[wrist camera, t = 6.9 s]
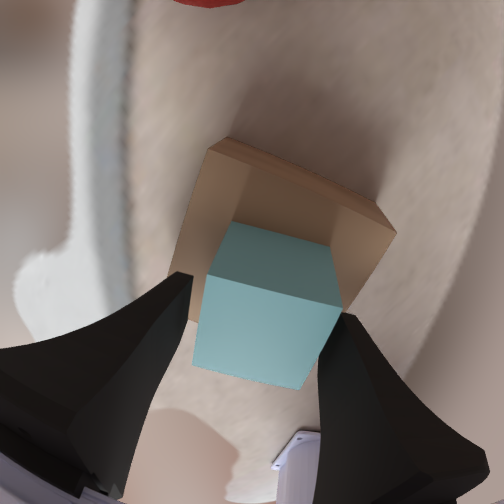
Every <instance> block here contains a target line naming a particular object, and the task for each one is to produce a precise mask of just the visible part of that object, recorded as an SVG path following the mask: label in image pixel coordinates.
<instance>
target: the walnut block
mask: <svg viewBox="0 0 504 504" xmlns="http://www.w3.org/2000/svg"><path fill="white" fill-rule="evenodd" d="M231 221H234V222H238V223H241V224H245V225H249V226H253V227H257V228H261V229H265V230H269V231H272V232H276V233H280V234H284V235H288V236H291V237H295V238H299V239H303V240H306V241H310V242H314V243H317V244H321V245H325V246H328V247H330V250H331V254H332V259H333V263H334V268H335V272H336V277H337V281H338V286H339V291H340V296H341V300H342V305H343V309H342V311H341V312H344V313H345V312H346V310H347V309H348V308H349V306H350V305H351V303H352V302H353V300H354V299H355V297H356V296H357V295H358V293H359V292H360V290H361V289H362V287H363V286H364V284H365V283H366V281H367V280H368V278H369V277H370V275H371V274H372V272H373V271H374V269H375V267H376V266H377V264H378V263H379V261H380V260H381V258H382V256H383V255H384V253H385V252H386V250H387V248H388V247H389V245H390V244H391V242H392V240H393V239H394V237H395V235H396V234H397V232H396V230H395V229H394V228H393V226H392V225H391V223H390V222H389V221H388V219H387V218H386V216H385V215H384V214H383V212H382V211H381V210H380V208H379V207H378V206H377V204H376V203H375V202H373V201H371V200H369V199H367V198H365V197H363V196H361V195H359V194H357V193H355V192H353V191H351V190H349V189H347V188H345V187H343V186H340V185H338V184H336V183H334V182H332V181H330V180H328V179H326V178H324V177H321V176H319V175H317V174H315V173H313V172H310V171H308V170H306V169H304V168H302V167H299V166H297V165H295V164H292V163H290V162H288V161H285V160H283V159H281V158H278V157H276V156H274V155H271V154H269V153H266V152H264V151H262V150H259V149H257V148H254V147H252V146H249V145H247V144H244V143H241V142H239V141H236V140H234V139H231V138H228V137H226V138H224V139H223V140H221V141H219V142H218V143H216V144H215V145H213V146H211V147H210V148H208V150H207V153H206V156H205V158H204V161H203V164H202V167H201V170H200V173H199V176H198V178H197V181H196V184H195V187H194V190H193V193H192V196H191V199H190V203H189V206H188V209H187V212H186V215H185V218H184V221H183V225H182V228H181V231H180V234H179V238H178V241H177V244H176V248H175V251H174V255H173V258H172V261H171V265H170V268H169V272H168V276H167V277H169V276H170V275H171V274H173V273H174V272H176V271H179V272H182V273H186V274H190V275H193V276H194V278H193V285H192V292H191V299H190V307H189V314H188V319H189V320H191V321H194V322H196V323H199V317H200V311H201V305H202V299H203V294H204V288H205V282H206V277H207V273H208V271H209V269H210V266H211V264H212V262H213V260H214V258H215V255H216V253H217V251H218V249H219V247H220V245H221V242H222V240H223V238H224V236H225V234H226V232H227V229H228V227H229V225H230V223H231Z"/></svg>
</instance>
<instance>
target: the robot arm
mask: <svg viewBox="0 0 504 504" xmlns="http://www.w3.org/2000/svg"><path fill="white" fill-rule="evenodd" d="M193 278H194V276H193V275H190V274H186V273H182V272H179V271H176V272H174V273H173V274H171V275H170V276H169V277H167V278H166V279H165V280H163V281H162V282H161V283H159V284H158V285H157V286H155V287H154V288H152V289H151V290H149V291H148V292H147V293H145V294H144V295H142V296H141V297H139V298H138V299H136V300H135V301H133V302H131V303H130V304H128V305H126V306H125V307H123V308H121V309H120V310H118V311H116V312H115V313H113V314H111V315H109V316H107V317H105V318H103V319H101V320H99V321H97V322H95V323H93V324H91V325H88V326H86V327H83V328H80V329H78V330H75V331H73V332H70V333H67V334H65V335H61V336H58V337H55V338H52V339H48V340H44V341H40V342H36V343H32V344H28V345H21V346H16V347H11V348H3V349H0V504H125V503H123V502H120V501H117V500H118V499H120V498H122V497H123V493H124V489H125V485H126V481H127V478H128V474H129V470H130V466H131V463H132V459H133V456H134V453H135V449H136V446H137V443H138V439H139V436H140V433H141V430H142V427H143V424H144V421H145V418H146V415H147V413H148V410H149V407H150V404H151V401H152V399H153V397H154V394H155V392H156V390H157V388H158V386H159V384H160V382H161V380H162V378H163V376H164V374H165V372H166V370H167V368H168V366H169V364H170V362H171V360H172V358H173V356H174V354H175V352H176V350H177V348H178V345H179V343H180V341H181V338H182V335H183V332H184V329H185V327H186V324H187V321H188V314H189V307H190V299H191V292H192V285H193ZM317 377H318V394H319V409H320V427H321V433H317V432H309V431H298V432H297V433H296V434H295V435H294V437H293V438H292V439H291V441H290V442H289V443H288V445H287V446H286V447H285V448H284V450H283V451H282V452H281V454H280V455H279V456H278V457H277V459H276V460H275V461H274V462H273V464H272V465H271V469H273V470H279V477H278V488H277V499H276V504H457V501H456V499H457V498H458V497H460V496H462V495H463V494H465V493H467V492H468V491H470V490H471V489H473V488H475V487H476V486H477V485H479V484H480V483H482V482H483V481H484V480H485V479H486V478H487V476H488V475H489V473H490V470H489V466H488V462H487V458H486V454H485V451H484V450H483V449H482V448H480V447H478V446H477V445H475V444H474V443H472V442H471V441H469V440H467V439H466V438H464V437H463V436H461V435H460V434H459V433H457V432H456V431H455V430H453V429H452V428H451V427H449V426H448V425H446V423H444V422H443V421H442V420H441V419H440V418H438V417H437V416H436V415H435V414H434V413H433V412H432V411H431V410H430V409H429V408H428V407H426V406H425V405H424V404H423V403H422V402H421V401H420V400H419V398H418V397H417V396H416V395H415V394H414V393H413V392H412V391H411V390H410V389H409V388H408V386H407V385H406V384H405V383H404V382H403V381H402V379H401V378H400V377H399V375H398V374H397V373H396V372H395V370H394V369H393V368H392V367H391V365H390V364H389V362H388V361H387V360H386V358H385V357H384V356H383V354H382V353H381V351H380V350H379V349H378V347H377V346H376V344H375V343H374V341H373V340H372V338H371V337H370V335H369V334H368V332H367V331H366V330H365V328H364V327H363V325H362V324H361V322H360V321H359V320H358V318H357V317H356V316H355V315H353V314H348V313H344V312H341V314H340V316H339V318H338V320H337V322H336V324H335V326H334V327H333V329H332V331H331V333H330V335H329V337H328V339H327V341H326V343H325V345H324V347H323V349H322V351H321V352H320V354H319V359H318V375H317ZM492 504H504V500H500V501H498V502H495V503H492Z"/></svg>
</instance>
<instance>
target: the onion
mask: <svg viewBox="0 0 504 504" xmlns="http://www.w3.org/2000/svg"><path fill="white" fill-rule="evenodd" d="M174 1H176V2H179V3H182V4H185V5H192V6H198V7H204V8H214V7H220V6H227V5H233V4H238V3H240V2H242V1H245V0H174Z"/></svg>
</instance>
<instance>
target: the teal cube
mask: <svg viewBox="0 0 504 504" xmlns="http://www.w3.org/2000/svg"><path fill="white" fill-rule="evenodd" d="M342 309H343V305H342V300H341V296H340V291H339V286H338V281H337V277H336V272H335V268H334V263H333V259H332V254H331V250H330V247H328V246H325V245H321V244H317V243H314V242H310V241H306V240H303V239H299V238H295V237H291V236H288V235H284V234H280V233H276V232H272V231H269V230H265V229H261V228H257V227H253V226H249V225H245V224H241V223H238V222H234V221H231V223H230V225H229V227H228V229H227V232H226V234H225V236H224V238H223V240H222V242H221V245H220V247H219V249H218V251H217V253H216V255H215V258H214V260H213V262H212V264H211V266H210V269H209V271H208V273H207V277H206V282H205V288H204V294H203V299H202V305H201V311H200V317H199V323H198V329H197V335H196V341H195V348H194V354H193V360H192V365H193V366H197V367H200V368H204V369H207V370H211V371H215V372H219V373H223V374H227V375H231V376H235V377H239V378H243V379H247V380H252V381H256V382H261V383H265V384H270V385H275V386H280V387H285V388H290V389H296V390H300V388H301V386H302V385H303V383H304V381H305V380H306V378H307V376H308V374H309V372H310V371H311V369H312V367H313V365H314V363H315V362H316V360H317V358H318V356H319V354H320V352H321V351H322V349H323V347H324V345H325V343H326V341H327V339H328V337H329V335H330V333H331V331H332V329H333V327H334V326H335V324H336V322H337V320H338V318H339V316H340V314H341V311H342Z"/></svg>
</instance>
